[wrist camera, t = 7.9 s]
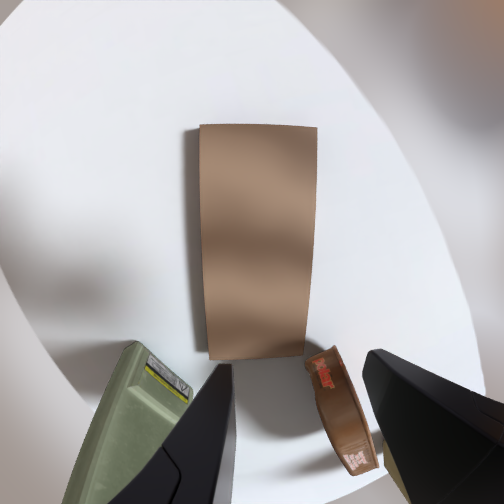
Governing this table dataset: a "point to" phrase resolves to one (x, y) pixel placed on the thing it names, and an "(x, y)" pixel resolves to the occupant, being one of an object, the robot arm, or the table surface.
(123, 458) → the handheld radio
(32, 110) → the table surface
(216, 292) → the walnut board
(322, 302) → the table surface
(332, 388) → the tin
